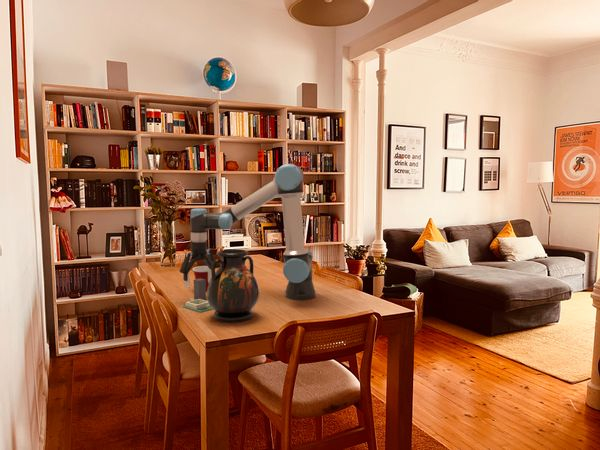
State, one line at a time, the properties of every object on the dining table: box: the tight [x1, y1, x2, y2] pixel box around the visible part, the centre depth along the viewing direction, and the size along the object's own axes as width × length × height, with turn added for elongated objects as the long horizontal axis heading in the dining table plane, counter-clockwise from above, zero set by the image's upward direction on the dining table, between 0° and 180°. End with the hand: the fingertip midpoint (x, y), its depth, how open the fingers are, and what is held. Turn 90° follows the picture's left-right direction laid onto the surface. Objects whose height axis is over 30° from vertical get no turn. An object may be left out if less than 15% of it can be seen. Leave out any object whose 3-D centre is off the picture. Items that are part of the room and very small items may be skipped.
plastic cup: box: [192, 265, 209, 292], centre depth 233 cm, size 11×11×12 cm
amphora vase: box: [206, 248, 260, 323], centre depth 186 cm, size 22×22×28 cm
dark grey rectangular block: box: [193, 278, 207, 301], centre depth 214 cm, size 5×4×10 cm
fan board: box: [182, 297, 214, 314], centre depth 201 cm, size 13×9×3 cm
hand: (199, 285), depth 214 cm, fingers open, 13 cm apart
